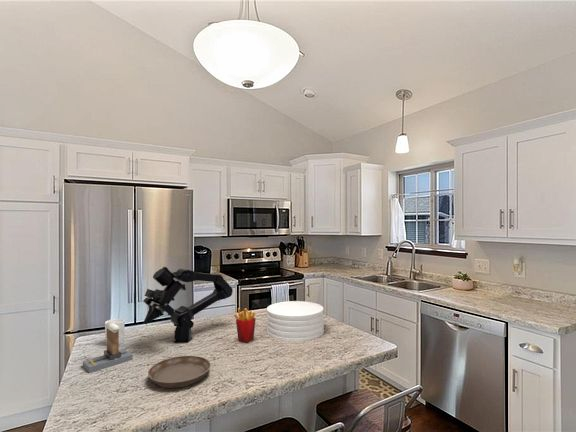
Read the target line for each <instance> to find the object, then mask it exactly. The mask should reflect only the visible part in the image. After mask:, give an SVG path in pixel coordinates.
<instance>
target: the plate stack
mask: <svg viewBox="0 0 576 432" xmlns="http://www.w3.org/2000/svg"><path fill="white" fill-rule="evenodd" d="M324 317H325V316H324V307H323V306H322V305H321V304H319V303H315V302H311V301H303V300H292V301H291V300H290V301H281V302H276V303H272V304H270V305H268V306H267V307H266V324H267V325H266V333H267V335H269V337H271V338H273V339H276V340H279V341H287V342H304V341H311V340H314V339H318V338H319V337H321V336H323V335H324V331H325V328H324V327H325V326H324V324H325V323H324V320H325V319H324Z"/></svg>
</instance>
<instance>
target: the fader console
mask: <svg viewBox="0 0 576 432" xmlns="http://www.w3.org/2000/svg"><path fill="white" fill-rule="evenodd" d="M119 351H120V352H121V357H118V358H115V359H111V360H110V359H108V358H107V357H106V356H105V355H104V354H103V355H99V356H96V357H92V358H88V359H86V360H82V367H83V369H84V370H85V371H87V373H89V374H90V373H94V372H97V371H101V370H103V369H107V368H110V367H113V366H117V365H120V364H123V363H126V362H129V361H132V360H133V357H134V356H133V354H132V353H131V352H129V351H128V350H127V349H121V350H119Z"/></svg>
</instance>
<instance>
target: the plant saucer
mask: <svg viewBox="0 0 576 432" xmlns="http://www.w3.org/2000/svg"><path fill="white" fill-rule="evenodd" d="M211 366H212V364H211V362H210V361H209V360H208V359H206V358H205V357H203V356H197V355H179V356H174V357H170V358H166V359H163V360H161V361H158V362H157V363H155V364H154V365H152V366H151V367H150V368H149V369H148V371H147V374H148V377H149V379H150V380H151V381H152V382H153V383H154V384H156V385H157V386H159V387H162V388H166V389H167V388H168V389H170V388H171V389H173V388H174V389H176V388H182V387H187V386H191V385H193V384H195V383H197V382H199V381H200V380H201V379H203V378H204V377H205V376H206V375H207V373H208V372H209V370H210V368H211Z"/></svg>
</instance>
